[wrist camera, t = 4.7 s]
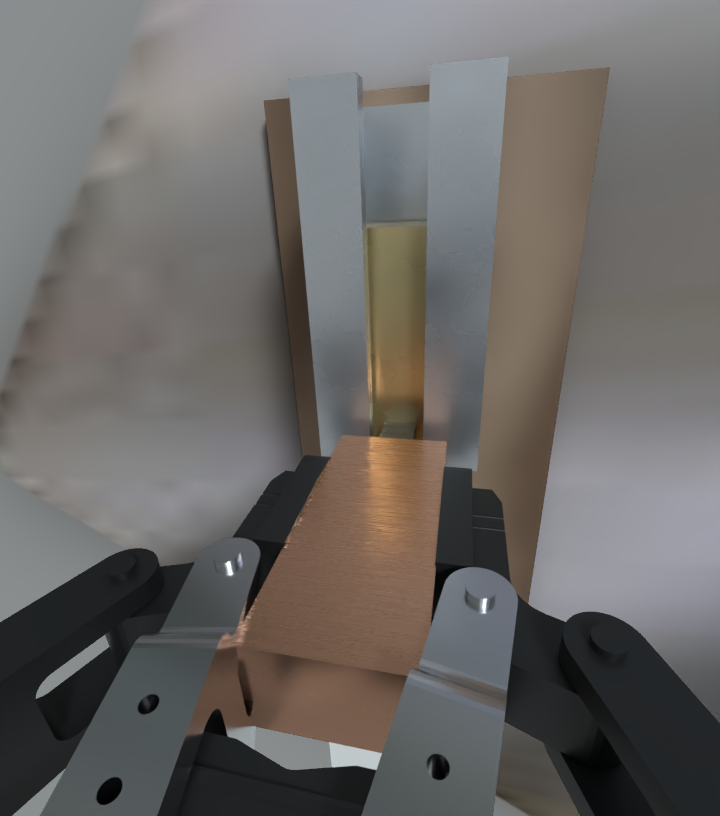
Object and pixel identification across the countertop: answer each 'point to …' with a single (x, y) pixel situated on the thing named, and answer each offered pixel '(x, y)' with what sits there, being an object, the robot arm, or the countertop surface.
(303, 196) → the sleeve
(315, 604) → the sliding latch bolt
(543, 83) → the base board
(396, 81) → the countertop surface
